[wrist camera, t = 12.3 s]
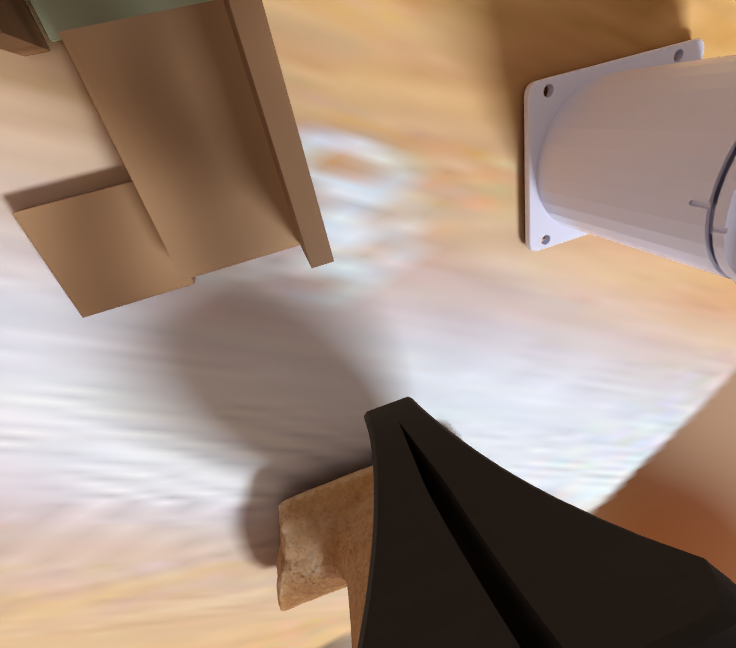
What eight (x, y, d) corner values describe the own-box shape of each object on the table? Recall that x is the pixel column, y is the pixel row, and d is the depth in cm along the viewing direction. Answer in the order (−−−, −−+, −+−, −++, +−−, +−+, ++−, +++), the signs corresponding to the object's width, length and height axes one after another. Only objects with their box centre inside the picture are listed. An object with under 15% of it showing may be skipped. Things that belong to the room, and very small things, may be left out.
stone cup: (471, 394, 25) (704, 669, 13) (469, 511, 31) (628, 781, 18) (234, 464, 23) (225, 911, 10) (280, 578, 28) (312, 954, 16)
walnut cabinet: (159, -292, 11) (102, -575, 6) (315, 242, 18) (339, 279, 14) (-285, -248, 9) (-754, -578, 5) (87, 311, 17) (34, 376, 12)
